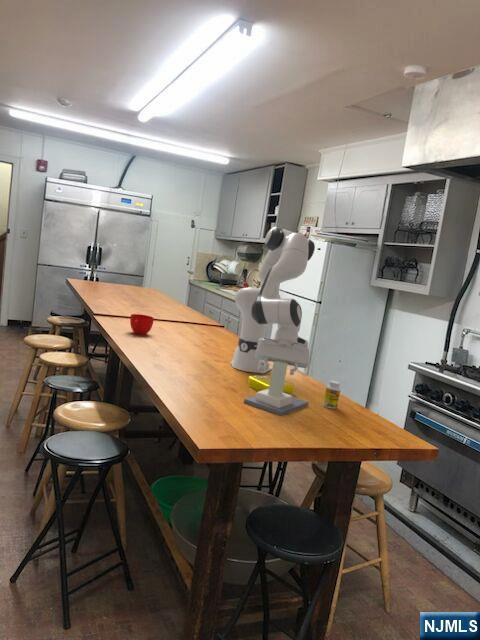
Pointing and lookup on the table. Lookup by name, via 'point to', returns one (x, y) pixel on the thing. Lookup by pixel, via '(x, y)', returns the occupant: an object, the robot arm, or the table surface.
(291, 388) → the element tile
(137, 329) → the ceramic cup
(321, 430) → the table surface
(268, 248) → the robot arm
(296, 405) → the slate board
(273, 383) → the sage block
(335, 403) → the supplement bottle
